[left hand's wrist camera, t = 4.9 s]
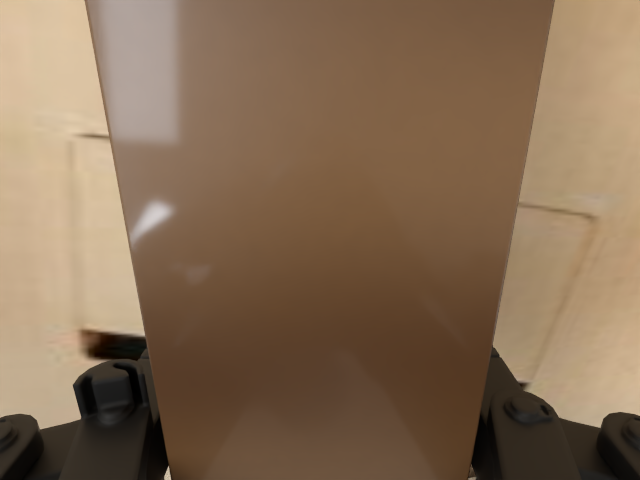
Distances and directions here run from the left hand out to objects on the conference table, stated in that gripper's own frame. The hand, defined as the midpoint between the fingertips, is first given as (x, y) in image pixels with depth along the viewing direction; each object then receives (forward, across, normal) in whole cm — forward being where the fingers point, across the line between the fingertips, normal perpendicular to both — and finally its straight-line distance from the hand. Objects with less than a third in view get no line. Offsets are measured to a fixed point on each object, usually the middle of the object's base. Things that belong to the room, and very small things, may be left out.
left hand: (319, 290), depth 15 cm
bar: (+1, 0, -8) cm, 8 cm away
